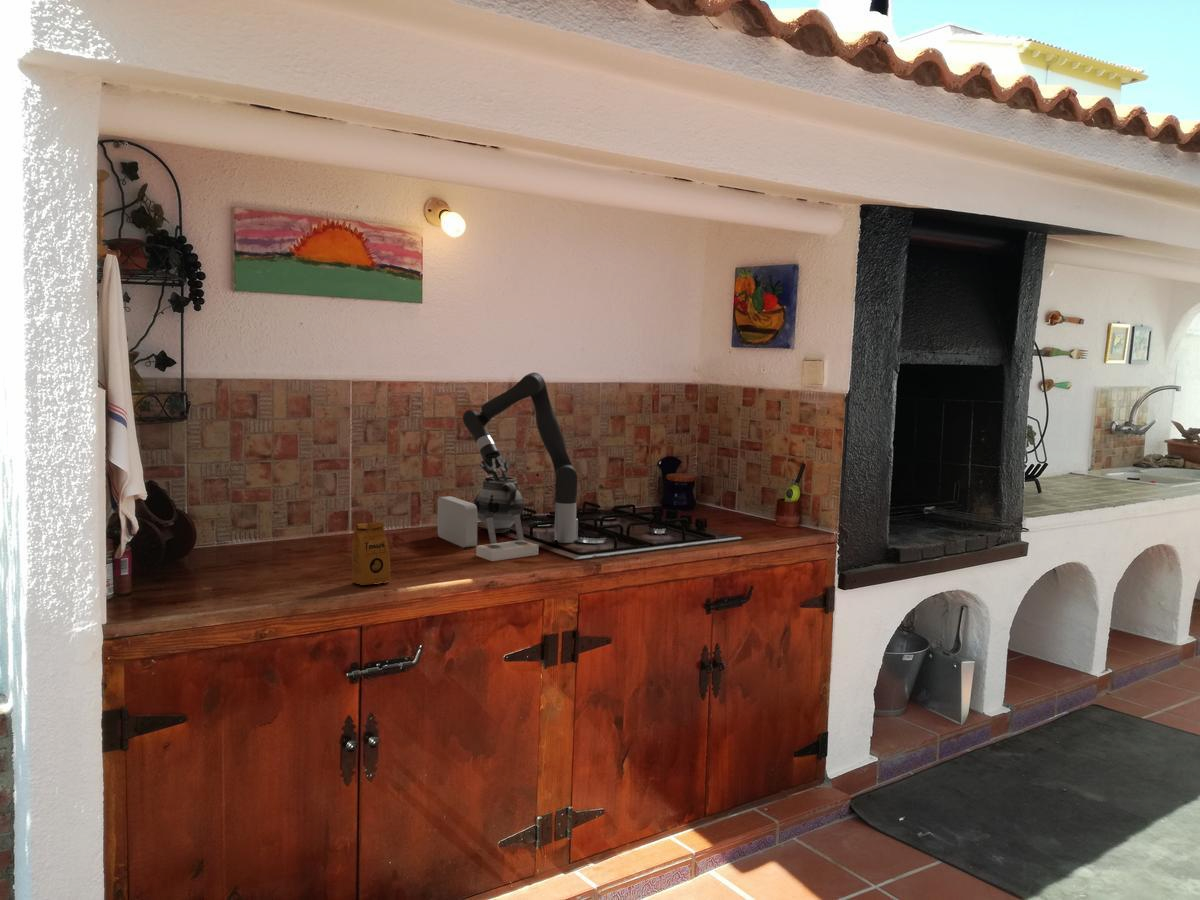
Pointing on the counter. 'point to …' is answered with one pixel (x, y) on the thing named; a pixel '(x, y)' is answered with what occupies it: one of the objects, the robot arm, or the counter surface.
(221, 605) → the counter surface
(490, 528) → the lever
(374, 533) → the coffee package
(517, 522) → the lever
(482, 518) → the ceramic pot
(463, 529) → the rounded white slab
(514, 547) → the switch unit
